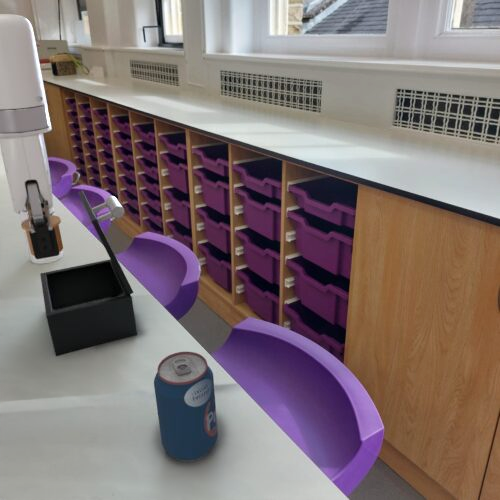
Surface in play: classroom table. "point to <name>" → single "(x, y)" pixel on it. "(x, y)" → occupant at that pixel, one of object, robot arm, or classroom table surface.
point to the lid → (116, 212)
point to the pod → (55, 224)
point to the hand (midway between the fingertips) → (46, 247)
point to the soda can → (186, 405)
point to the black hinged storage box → (87, 306)
